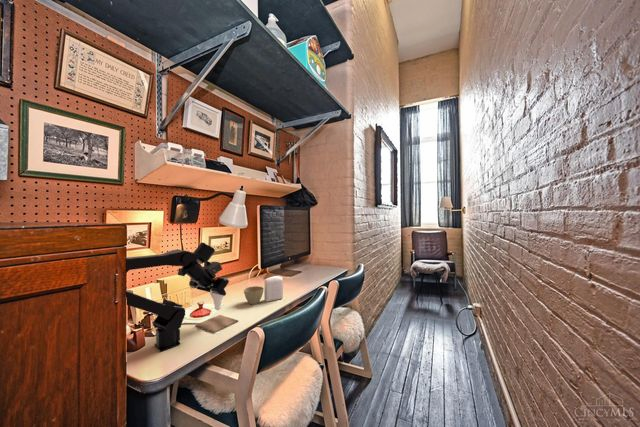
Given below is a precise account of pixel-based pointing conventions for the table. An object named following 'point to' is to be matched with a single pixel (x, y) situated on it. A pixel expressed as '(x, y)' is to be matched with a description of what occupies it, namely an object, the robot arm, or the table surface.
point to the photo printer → (273, 288)
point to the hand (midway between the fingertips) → (220, 293)
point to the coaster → (216, 323)
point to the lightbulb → (216, 300)
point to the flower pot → (253, 294)
